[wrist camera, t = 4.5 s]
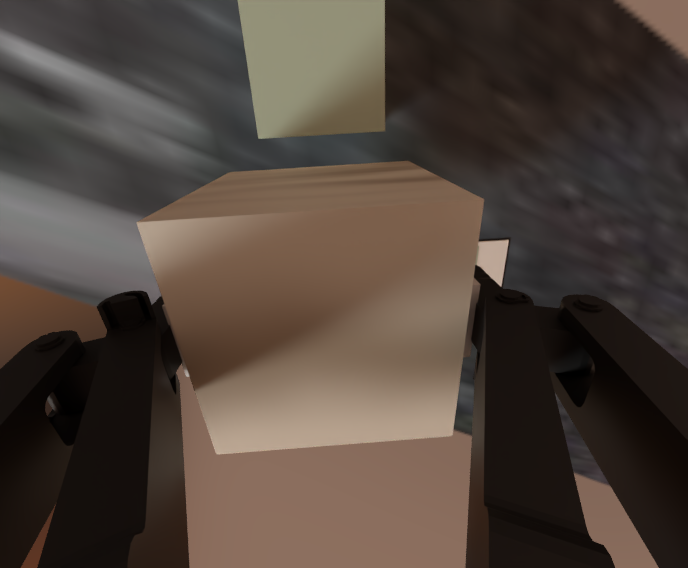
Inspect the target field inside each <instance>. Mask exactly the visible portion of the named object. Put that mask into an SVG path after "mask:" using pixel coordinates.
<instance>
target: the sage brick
mask: <svg viewBox="0 0 688 568" xmlns="http://www.w3.org/2000/svg"><path fill="white" fill-rule="evenodd" d="M238 5H239V12H240V19H241V25H242V32H243V39H244V45H245V52H246V59H247V65H248V72H249V79H250V85H251V92H252V99H253V105H254V112H255V119H256V125H257V132H258V139H262V138H279V137H295V136H312V135H328V134H345V133H361V132H378V131H385V0H238Z"/></svg>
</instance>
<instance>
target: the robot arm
mask: <svg viewBox="0 0 688 568" xmlns="http://www.w3.org/2000/svg"><path fill="white" fill-rule="evenodd" d="M97 309H98V311H99V313H100V315H101V317H102V320H103V322H104V324H105V326H106V328H107V334H106V337H104V338H100V339H96V340H92V341H88V342H83V343H82V342H81V340H80V338H79V336H78V334H77V332H75V331H70V330H69V331H60V332H52V333H49V334H48V335H43V336H41V337H39V338H38V339H36V340H34V341H32V342H31V343H29V344H28V345H27V346H25V347H24V348H23V349H22V350H21V351H19V352H18V353H17V354H16V355H15V356H14V357H13V358H12V359H11V360H10V361H9V362H8V363H7V364H5V365H4V366H3V367H2V368H1V369H0V568H21V566H22V564H23V562H24V560H25V559H26V557H27V555H28V553H29V551H30V550H31V548H32V546H33V544H34V542H35V540H36V539H37V537H38V535H39V533H40V531H41V529H42V528H43V526H44V524H45V522H46V520H47V519H48V517H49V515H50V513H51V511H52V510H53V508H54V506H55V504H56V506H55V510H54V513H53V517H52V520H51V523H50V527H49V530H48V533H47V537H46V540H45V544H44V547H43V550H42V554H41V557H40V560H39V564H38V567H37V568H189V553H188V533H187V514H186V495H185V478H184V477H185V476H184V457H183V438H182V420H181V402H180V401H181V400H180V383H179V380H178V377H177V374H176V371H177V369H178V368H179V366H180V365H181V363H182V366H183V369H184V372H185V374H186V377H189V373H188V370H187V367H186V365H185V362H184V359H183V356H182V353H181V350H180V347H179V344H178V341H177V339H176V336H175V333H174V330H173V327H172V324H171V321H170V318H169V315H168V312H167V310H166V307H165V304H164V301H163V298H162V296H161V297H159V298H158V299H157V300H156V302H155V303H154V304H153V305H151V302H150V299H149V297H148V294H147V292H144V291H129V292H124V293H120V294H117V295H114V296H112V297H109V298H107V299H105V300H104V301H102V302H101V303H100V304H99V305H98V306H97ZM472 343H473V344H474V346H475V347H476V349H477V350H478V351H477V357H476V363H475V370H474V376H473V379H474V380H475V388H474V408H473V428H472V448H471V468H470V488H469V509H468V529H467V549H466V568H615V566H614V563H613V561H612V558H611V556H610V554H609V553H608V551H607V550H606V548H605V547H604V545H601V544H599V543H596V542H594V541H592V539H591V537H590V536H589V534H588V531H587V527H586V524H585V519H584V515H583V512H582V507H581V502H580V498H579V494H578V490H577V486H576V482H575V477H574V473H573V469H572V464H571V460H570V456H569V452H568V447H567V443H566V439H565V435H564V430H563V426H562V422H561V418H560V414H559V409H558V405H557V401H556V397H555V393H556V395H557V396H558V398H559V400H560V401H561V403H562V405H563V406H564V408H565V410H566V411H567V413H568V415H569V417H570V418H571V420H572V422H573V423H574V425H575V427H576V428H577V430H578V432H579V433H580V435H581V437H582V438H583V440H584V442H585V444H586V445H587V447H588V449H589V450H590V452H591V454H592V455H593V457H594V459H595V460H596V462H597V464H598V466H599V467H600V469H601V471H602V472H603V474H604V476H605V477H606V479H607V481H608V482H609V484H610V486H611V487H612V489H613V491H614V493H615V494H616V496H617V497H618V499H619V501H620V502H621V504H622V506H623V508H624V509H625V511H626V513H627V515H628V516H629V518H630V519H631V521H632V523H633V524H634V526H635V528H636V530H637V531H638V533H639V535H640V536H641V538H642V540H643V542H644V543H645V545H646V546H647V548H648V550H649V552H650V553H651V555H652V557H653V558H654V560H655V562H656V563H657V565H658V567H659V568H688V369H687V368H686V367H685V366H683V365H682V364H681V363H680V362H679V361H678V360H676V359H675V358H674V357H673V356H672V355H671V354H669V353H668V352H667V351H666V350H665V349H663V348H662V347H661V346H660V345H659V344H658V343H656V342H655V341H654V340H653V339H652V338H651V337H649V336H648V335H647V334H646V333H645V332H644V331H642V330H641V329H640V328H639V327H638V326H636V325H635V324H634V323H633V322H632V321H631V320H629V319H628V318H627V317H626V316H625V315H624V314H622V313H621V312H620V311H619V310H618V309H617V308H615V307H614V306H613V305H611V304H610V303H608V302H607V301H604V300H602V299H599V298H598V297H595V296H591V295H577V294H576V295H568V296H565V297H563V299H562V301H561V305H560V308H551V307H540V306H534V303H533V301H532V299H531V298H530V297H529V296H528V295H526V294H524V293H522V292H519V291H516V290H511V289H503V288H502V287H501V286H500V285H499V284H497V283H496V282H495V281H494V280H493V279H492V278H491V277H490V276H489V275H488V274H486V272H485V271H484V270H483V269H482V268H481V267H480V266H477V265H475V271H474V278H473V286H472V293H471V301H470V308H469V316H468V323H467V331H466V338H465V345H464V353H463V357H470V353H471V346H472ZM554 391H555V392H554ZM47 400H48V402H49V403H50V405H51V407H52V408H53V409H52V411H51V412H50V414H49V415H48V416H47V415H46V412H45V403H46V401H47ZM56 502H57V503H56Z"/></svg>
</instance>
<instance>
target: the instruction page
mask: <svg viewBox="0 0 688 568" xmlns="http://www.w3.org/2000/svg"><path fill="white" fill-rule="evenodd" d="M508 242H509V240H492V241H478V249H477V256H476V264H475V265H477V266H480V267H481V268H482V269H483V270H484V271H485V272H486V274H488V275H489V276H490V277H491V278H492V279H493V280H494V281H495V282H496V283H497V284H499V285H500V286H502V279H503V273H504V267H505V261H506V255H507V249H508Z"/></svg>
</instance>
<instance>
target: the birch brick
mask: <svg viewBox="0 0 688 568" xmlns="http://www.w3.org/2000/svg"><path fill="white" fill-rule="evenodd" d="M483 204H484V199H482V198H480V197H478V196H476V195H474V194H473V193H471V192H469V191H467V190H465V189H463V188H461V187H459V186H457V185H455V184H453V183H451V182H449V181H447V180H445V179H443V178H441V177H439V176H437V175H435V174H433V173H431V172H429V171H427V170H425V169H423V168H421V167H419V166H417V165H415V164H413V163H411V162H409V161H398V162H383V163H367V164H351V165H336V166H320V167H304V168H289V169H273V170H258V171H242V172H229V173H227V174H225V175H223V176H222V177H220V178H218V179H216V180H214V181H212V182H210V183H209V184H207V185H205V186H203V187H201V188H199V189H197V190H196V191H194V192H192V193H190V194H188V195H186V196H184V197H183V198H181V199H179V200H177V201H175V202H173V203H171V204H170V205H168V206H166V207H164V208H162V209H160V210H159V211H157V212H155V213H153V214H151V215H149V216H147V217H146V218H144V219H142V220H140V221H138V222H136V223H137V226H138V228H139V231H140V234H141V237H142V240H143V243H144V246H145V249H146V252H147V255H148V257H149V260H150V263H151V266H152V269H153V272H154V275H155V278H156V281H157V283H158V286H159V289H160V292H161V295H162V298H163V301H164V304H165V307H166V310H167V312H168V315H169V318H170V321H171V324H172V327H173V330H174V333H175V336H176V339H177V341H178V344H179V347H180V350H181V353H182V356H183V359H184V362H185V365H186V367H187V370H188V373H189V376H190V379H191V382H192V384H193V388H194V391H195V394H196V396H197V399H198V402H199V405H200V408H201V411H202V414H203V416H204V419H205V422H206V425H207V428H208V431H209V434H210V437H211V440H212V443H213V446H214V448H215V451H216V454H228V453H241V452H253V451H265V450H280V449H292V448H305V447H318V446H331V445H344V444H356V443H369V442H382V441H395V440H407V439H420V438H433V437H445V436H452V435H453V427H454V420H455V412H456V405H457V398H458V390H459V383H460V375H461V368H462V360H463V353H464V345H465V338H466V331H467V323H468V316H469V308H470V301H471V293H472V286H473V278H474V271H475V264H476V256H477V249H478V241H479V234H480V226H481V219H482V211H483Z"/></svg>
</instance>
